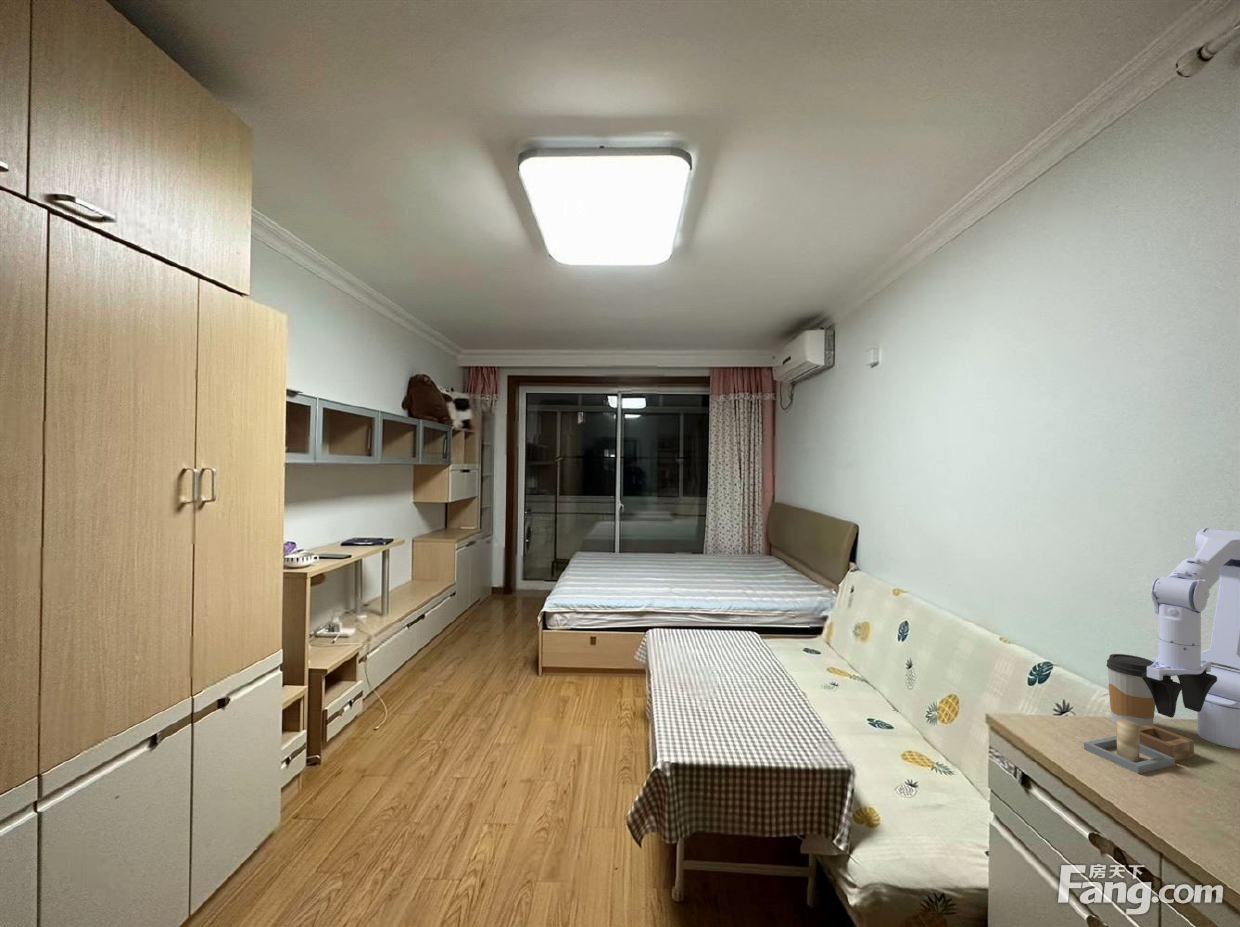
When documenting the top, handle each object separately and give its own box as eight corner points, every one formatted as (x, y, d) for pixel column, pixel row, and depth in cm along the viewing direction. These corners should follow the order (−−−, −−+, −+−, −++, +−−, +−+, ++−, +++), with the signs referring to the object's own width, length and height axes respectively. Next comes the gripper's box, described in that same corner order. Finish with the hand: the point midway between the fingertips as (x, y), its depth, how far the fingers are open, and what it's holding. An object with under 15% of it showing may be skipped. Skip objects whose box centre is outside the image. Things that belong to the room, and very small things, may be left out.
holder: (1150, 743, 113) (1150, 724, 113) (1193, 761, 106) (1193, 740, 106) (1126, 748, 111) (1126, 729, 111) (1169, 767, 104) (1169, 746, 104)
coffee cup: (1169, 740, 115) (1169, 668, 115) (1122, 736, 116) (1122, 665, 116) (1140, 721, 123) (1140, 654, 123) (1097, 718, 124) (1097, 651, 124)
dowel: (1124, 754, 108) (1124, 718, 108) (1143, 762, 105) (1143, 725, 105) (1112, 756, 107) (1112, 720, 107) (1132, 765, 104) (1132, 728, 104)
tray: (1119, 746, 112) (1119, 735, 112) (1174, 770, 103) (1174, 758, 103) (1084, 754, 109) (1084, 742, 109) (1138, 779, 100) (1138, 766, 100)
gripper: (1178, 631, 110) (1178, 698, 110) (1127, 638, 106) (1128, 708, 106) (1225, 642, 104) (1225, 714, 104) (1173, 650, 100) (1173, 725, 100)
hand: (1179, 712), depth 105 cm, fingers open, 7 cm apart
